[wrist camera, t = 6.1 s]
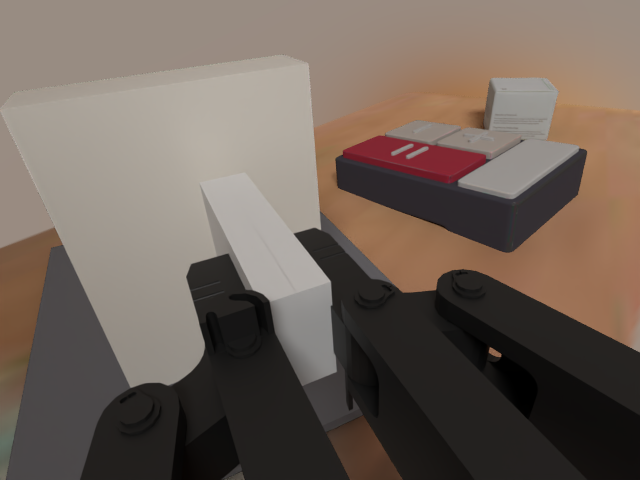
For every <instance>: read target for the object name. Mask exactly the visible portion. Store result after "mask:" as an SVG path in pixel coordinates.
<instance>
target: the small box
mask: <svg viewBox="0 0 640 480" xmlns="http://www.w3.org/2000/svg"><path fill="white" fill-rule="evenodd" d="M557 95H558V90H557V89H556V88H555V87H554V86H553V85H552V84H551V83H550V81H549V80H548V79H546V78H492V79H491V80H490V83H489V88H488V95H487V101H486V108H485V115H484V121H483V123H484V128H485V130H491V131H498V132H506V133H513V134H519V135H521V140H527V139H537V140H547V137H548V133H549V129H550V125H551V120H552V116H553V112H554V107H555V103H556V99H557Z"/></svg>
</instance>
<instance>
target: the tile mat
mask: <svg viewBox="0 0 640 480" xmlns="http://www.w3.org/2000/svg"><path fill="white" fill-rule="evenodd" d="M320 222H321V230H322V231H324V232H326V233H328V234H330V235H331V236H332V237H333V238H334V240H335V241H336V242H337V243H338V245H340V246H341V247H342V248H343V249H344V250H345V253H348V255H349V256H350V257H351V258H352V259H353V260H354V261H355V262H356V263H357V264H358V265H359V266H360V267H361V268H362V270H363V271H364V272H365V273H366V274H367V275H368V276H369V277H370V278H371V279H380V280H383V281H386V282H389V283H391V284H393V283H392V282H391V281H390V280H389V279H388V278H387V277H386V276H385V275H384V274H383V273H382V272H381V271H380V270H379V269H378V268H377V267H376V266H375V265H374V264H373V263H372V262H371V261H370V260H369V259H368V258H367V257H366V256H365V255H364V254H363V253H362V252H361V251H360V250H359V249H358V248H357V247H356V246H355V245H354V244H353V243H352V242H351V241H350V240H349V239H348V238H347V237H346V236H345V235H344V234H343V233H342V232H341V231H340V230H339V229H338V228H337V227H336V226H335V225H334V224H333V223H332V222H331V221H330V220H329V219H328V218H326V217H325V216H324V215H323V214H322V213H321V212H320ZM393 285H394V284H393ZM394 286H395V285H394ZM395 287H396V286H395ZM336 369H337V372H335V373H333V374H330V375H328V376H325V377H323V378H321V379H318V380H316V381H313V382H311V383H308V384H306V385H303V386H302V387H303V389H304V391H305V393H306V395H307V397H308V399H309V400H310V402H311V404H312V406H313V408H314V410H315V412H316V414H317V416H318V418H319V420H320V422H321V424H322V426H323V428H324V430H325V432H328V431H330V430H332V429H334V428H336V427H339V426H341V425H343V424H345V423H347V422H349V421H352V420H354V419H356V418H358V417H360V416H362V415H363V413H362V412H361V410H360V408H359V407H358V405H357V404H356V402H355V400H354V399H353V409H352V410H350V411H349V409H348V406H347V403H346V388H345V370H344V368H343V366H342V365H341V363H340V362H339V360H338V359H337V357H336ZM173 384H175V383H173ZM173 384H170V385H168V386H172V385H173ZM128 389H130V386H129V383H128V381H127V379H126V377H125V375H124V373H123V371H122V369H121V366H120V364H119V362H118V360H117V358H116V356H115V354H114V352H113V350H112V347H111V345H110V343H109V341H108V339H107V337H106V335H105V333H104V330H103V328H102V326H101V324H100V322H99V320H98V318H97V316H96V313H95V311H94V309H93V307H92V305H91V303H90V301H89V299H88V297H87V294H86V292H85V290H84V288H83V286H82V284H81V282H80V280H79V277H78V275H77V273H76V271H75V269H74V267H73V265H72V263H71V261H70V258H69V256H68V254H67V252H66V250H65V248H64V246H63V245H61V246H57V247H53V248H51V252H50V257H49V262H48V267H47V272H46V277H45V283H44V288H43V293H42V298H41V303H40V308H39V313H38V318H37V323H36V329H35V334H34V339H33V344H32V349H31V354H30V359H29V364H28V369H27V375H26V380H25V385H24V390H23V395H22V400H21V405H20V410H19V415H18V420H17V426H16V431H15V436H14V441H13V446H12V451H11V456H10V461H9V466H8V472H7V477H6V480H80V478H81V475H82V471H83V468H84V465H85V461H86V458H87V455H88V451H89V448H90V445H91V441H92V438H93V435H94V431H95V428H96V425H97V422H98V420H99V418H100V416H101V414H102V412H103V410H104V409H105V408H106V407H107V406H108V405H109V404H110V403H111V402H112V401H113V400H114V399H115V397H117V396H118V395H120V394H122V393H123V392H125V391H126V390H128ZM241 471H242V468H241V465H240V464H239V465H238V466H237V467H235V468H234V469H233V470H232V471H231V472H230V473H229V474H227V475H226V476H225V477H224V478H223V479H222V480H224V479H226V478H228V477H230V476H232V475H234V474H237V473H239V472H241Z"/></svg>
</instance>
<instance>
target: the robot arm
mask: <svg viewBox="0 0 640 480" xmlns="http://www.w3.org/2000/svg"><path fill="white" fill-rule="evenodd" d="M199 184H200V188H201V192H202V196H203V201H204V205H205V209H206V213H207V217H208V221H209V226H210V230H211V234H212V238H213V242H214V246H215V251H216V254H217V257H214V258H210V259H207V260H203V261H200V262H196V263H193V264H191V265H190V268H189V271H188V273H187V276H186V279H187V282H188V286H189V289H190V292H191V296H192V299H193V303H194V306H195V310H196V313H197V317H198V320H199V325H200V329H201V332H202V335H203V339H204V342H205V350H204V354H203V356H202V358H201V360H200V362H199V364H198V365H197V366H196V367H195V368H194V369H193V370H192V371H191V372H190V373H189V374H188V375H186V376H185V377H184V378H182V379H181V380H179V381H178V382H176V383H175V384H173V385H172V386H168V385H165V384H162V383H144V384H141V385H138V386H135V387H132V388H130V389H128V390H126V391H125V392H123V393H122V394H120V395H118V396H117V397H115V399H114V400H113V401H112V402H111V403H110V404H109V405H108V406H107V407H106V408H105V409H104V410H103V412H102V414H101V416H100V418H99V420H98V422H97V425H96V428H95V431H94V435H93V438H92V441H91V445H90V448H89V451H88V455H87V458H86V461H85V465H84V468H83V471H82V475H81V478H80V480H222V479H223V478H224V477H225V476H226V475H227V474H229V473H230V472H231V471H232V470H233V469H234V468H235V467H237V466H238V465H239V464H240V465H241V468H242V472H243V475H244V478H245V480H350V479H349V477H348V475H347V473H346V471H345V469H344V467H343V465H342V463H341V461H340V459H339V458H338V456H337V454H336V452H335V450H334V448H333V446H332V444H331V442H330V440H329V438H328V436H327V434H326V432H325V430H324V428H323V426H322V424H321V422H320V420H319V418H318V416H317V414H316V412H315V410H314V408H313V406H312V404H311V402H310V400H309V399H308V397H307V395H306V393H305V391H304V389H303V387H302V386H303V385H306V384H308V383H311V382H313V381H316V380H318V379H321V378H323V377H325V376H328V375H330V374H333V373H335V372H337V369H336V357H337V359H338V360H339V362H340V363H341V365H342V366H343V368H344V370H345V388H346V403H347V406H348V409H349V411H350V410H352V409H353V399H354V400H355V402H356V404H357V405H358V407H359V408H360V410H361V412H362V413H363V415H364V417H365V418H366V420H367V422H368V423H369V425H370V426H371V428H372V430H373V431H374V433H375V435H376V436H377V438H378V440H379V441H380V443H381V444H382V446H383V448H384V449H385V451H386V453H387V454H388V456H389V458H390V459H391V461H392V462H393V464H394V466H395V467H396V469H397V471H398V472H399V474H400V476H401V477H402V479H403V480H640V352H638V351H636V350H634V349H632V348H630V347H628V346H626V345H624V344H622V343H620V342H618V341H616V340H614V339H612V338H610V337H608V336H606V335H604V334H602V333H600V332H598V331H596V330H594V329H592V328H590V327H588V326H586V325H584V324H582V323H580V322H578V321H576V320H574V319H572V318H570V317H568V316H566V315H565V314H563V313H561V312H559V311H557V310H555V309H553V308H551V307H549V306H547V305H545V304H543V303H541V302H539V301H537V300H535V299H533V298H531V297H529V296H527V295H525V294H523V293H521V292H519V291H517V290H515V289H513V288H511V287H509V286H507V285H505V284H503V283H501V282H499V281H497V280H495V279H493V278H491V277H489V276H487V275H485V274H482V273H480V272H477V271H472V270H464V269H462V270H452V271H450V272H447V273H445V274H443V275H442V276H441V277H440V278H439V279H438V282H437V289H436V290H433V291H423V292H413V293H402V292H401V291H400V290H399V289H398V288H397V287H395V286H394V285H393V284H391V283H389V282H386V281H383V280H380V279H371V278H370V277H369V276H368V275H367V274H366V273H365V272H364V271H363V270H362V268H361V267H360V266H359V265H358V264H357V263H356V262H355V261H354V260H353V259H352V258H351V257H350V256H349V255H348V253H345V250H344V249H343V248H342V247H341V246H340V245H338V243H337V242H336V241H335V240H334V238H333V237H332V236H331V235H330V234H328V233H326V232H324V231H322V230H319V229H317V228H311V229H308V230H304V231H301V232H297V233H294V234H293V233H292V232H291V230H290V229H289V228H288V226H287V225H286V224H285V223H284V221H283V220H282V219H281V218H280V216H279V215H278V214H277V212H276V211H275V210H274V209H273V207H272V206H271V205H270V204H269V202H268V201H267V200H266V198H265V197H264V196H263V195H262V193H261V192H260V191H259V190H258V188H257V187H256V186H255V184H254V183H253V182H252V181H251V179H250V178H249V177H248V175H247V174H246V173H245V172H244V173H240V174H235V175H231V176H227V177H222V178H218V179H213V180H209V181H204V182H200V183H199ZM490 347H491V348H493V349H495V350H496V351H498V352H499V353H501V354H502V356H501V357H495V356H493V355H491V354H490V353H489V348H490Z"/></svg>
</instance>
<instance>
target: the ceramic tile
mask: <svg viewBox="0 0 640 480" xmlns="http://www.w3.org/2000/svg"><path fill="white" fill-rule="evenodd" d="M0 112H1V114H2V116H3V118H4V120H5V123H6V125H7V127H8V129H9V131H10V133H11V135H12V138H13V139H14V142H15V144H16V146H17V148H18V150H19V152H20V155H21V157H22V159H23V161H24V163H25V165H26V167H27V169H28V171H29V173H30V176H31V178H32V180H33V182H34V184H35V186H36V188H37V191H38V193H39V195H40V197H41V199H42V201H43V203H44V205H45V207H46V210H47V212H48V214H49V216H50V218H51V220H52V222H53V224H54V227H55V229H56V231H57V233H58V235H59V237H60V239H61V241H62V244H63V246H64V248H65V250H66V252H67V254H68V256H69V258H70V261H71V263H72V265H73V267H74V269H75V271H76V273H77V275H78V277H79V280H80V282H81V284H82V286H83V288H84V290H85V292H86V294H87V297H88V299H89V301H90V303H91V305H92V307H93V309H94V311H95V313H96V316H97V318H98V320H99V322H100V324H101V326H102V328H103V330H104V333H105V335H106V337H107V339H108V341H109V343H110V345H111V347H112V350H113V352H114V354H115V356H116V358H117V360H118V362H119V364H120V366H121V369H122V371H123V373H124V375H125V377H126V379H127V381H128V383H129V386H130V388H132V387H135V386H138V385H141V384H144V383H162V384H165V385H170V384H173V383H176V382H178V381H179V380H181V379H182V378H184V377H185V376H186V375H188V374H189V373H190V372H191V371H192V370H193V369H194V368H195V367H196V366H197V365H198V364H199V362H200V360H201V358H202V356H203V354H204V350H205V342H204V339H203V335H202V332H201V329H200V325H199V320H198V317H197V313H196V310H195V306H194V303H193V299H192V296H191V292H190V289H189V286H188V282H187V279H186V276H187V273H188V271H189V268H190V265H191V264H193V263H196V262H200V261H203V260H207V259H210V258H214V257H217V254H216V251H215V246H214V242H213V238H212V234H211V230H210V226H209V221H208V217H207V213H206V209H205V205H204V201H203V196H202V192H201V188H200V184H199V183H200V182H204V181H209V180H213V179H218V178H222V177H227V176H231V175H235V174H240V173H244V172H245V173H246V174H247V175H248V177H249V178H250V179H251V181H252V182H253V183H254V184H255V186H256V187H257V188H258V190H259V191H260V192H261V193H262V195H263V196H264V197H265V198H266V200H267V201H268V202H269V204H270V205H271V206H272V207H273V209H274V210H275V211H276V212H277V214H278V215H279V216H280V218H281V219H282V220H283V221H284V223H285V224H286V225H287V226H288V228H289V229H290V230H291V232H292V233H293V234H294V233H297V232H301V231H304V230H308V229H311V228H317V229H319V230H321V222H320V209H319V196H318V183H317V169H316V156H315V143H314V130H313V118H312V105H311V90H310V78H309V64H308V63H306V62H303V61H301V60H298V59H295V58H292V57H289V56H286V55H277V56H270V57H262V58H255V59H248V60H240V61H233V62H226V63H219V64H212V65H205V66H198V67H191V68H183V69H176V70H169V71H162V72H155V73H147V74H140V75H133V76H126V77H119V78H113V79H105V80H97V81H90V82H84V83H76V84H69V85H62V86H54V87H47V88H41V89H33V90H26V91H19V92H14V93H13V94H12V96H11V97H10V98H9V99H8V100H7V101H6V102H5V104H4V105H3V106H2V107H1V108H0Z"/></svg>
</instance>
